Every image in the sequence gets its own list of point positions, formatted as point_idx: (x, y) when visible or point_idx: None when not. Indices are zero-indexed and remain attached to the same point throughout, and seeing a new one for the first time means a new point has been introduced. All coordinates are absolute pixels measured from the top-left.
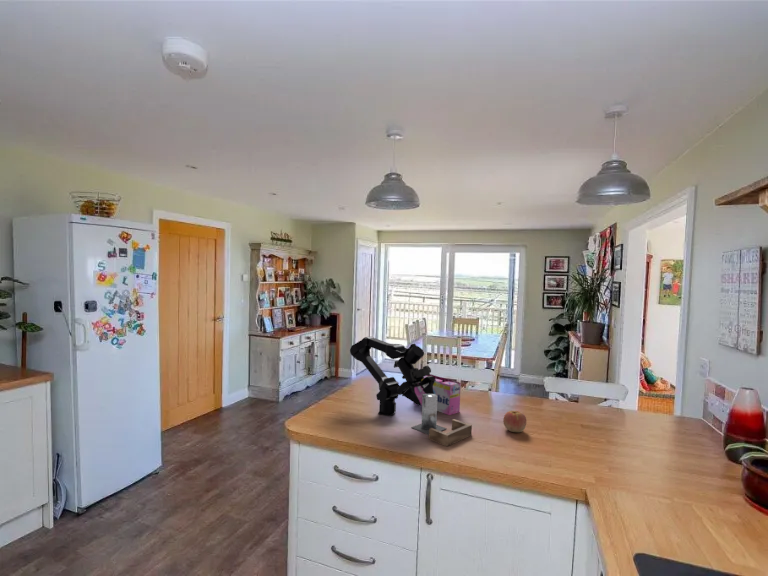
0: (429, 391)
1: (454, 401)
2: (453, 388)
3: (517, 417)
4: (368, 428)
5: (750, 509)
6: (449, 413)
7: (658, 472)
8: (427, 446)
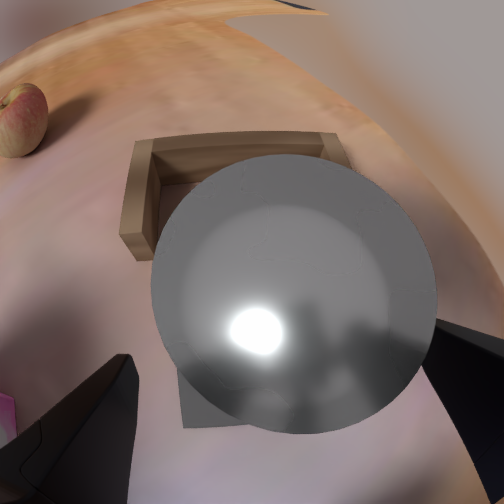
0: (85, 487)
1: None
2: None
3: (34, 86)
4: None
5: (142, 3)
6: (6, 396)
7: (104, 26)
8: None
